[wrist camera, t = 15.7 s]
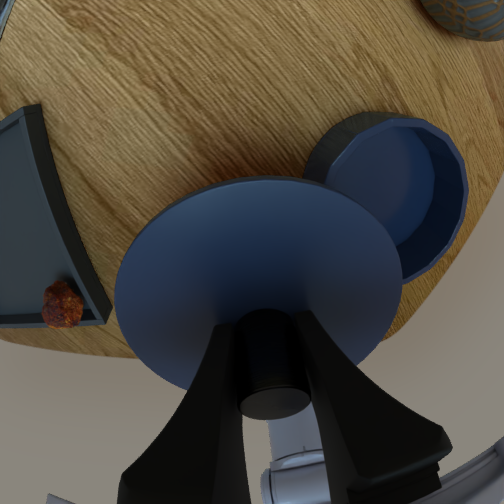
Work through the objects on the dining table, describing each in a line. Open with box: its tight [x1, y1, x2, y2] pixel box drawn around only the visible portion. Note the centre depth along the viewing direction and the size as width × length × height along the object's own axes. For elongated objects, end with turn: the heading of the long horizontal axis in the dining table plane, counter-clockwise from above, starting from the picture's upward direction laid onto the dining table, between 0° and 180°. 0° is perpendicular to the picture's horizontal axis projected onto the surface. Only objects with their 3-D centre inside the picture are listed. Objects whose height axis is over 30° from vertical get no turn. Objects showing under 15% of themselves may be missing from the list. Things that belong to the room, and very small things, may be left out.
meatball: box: [42, 280, 84, 329], centre depth 18 cm, size 4×4×4 cm
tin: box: [302, 112, 469, 285], centre depth 16 cm, size 11×11×4 cm
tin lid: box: [114, 175, 402, 420], centre depth 10 cm, size 12×12×5 cm
